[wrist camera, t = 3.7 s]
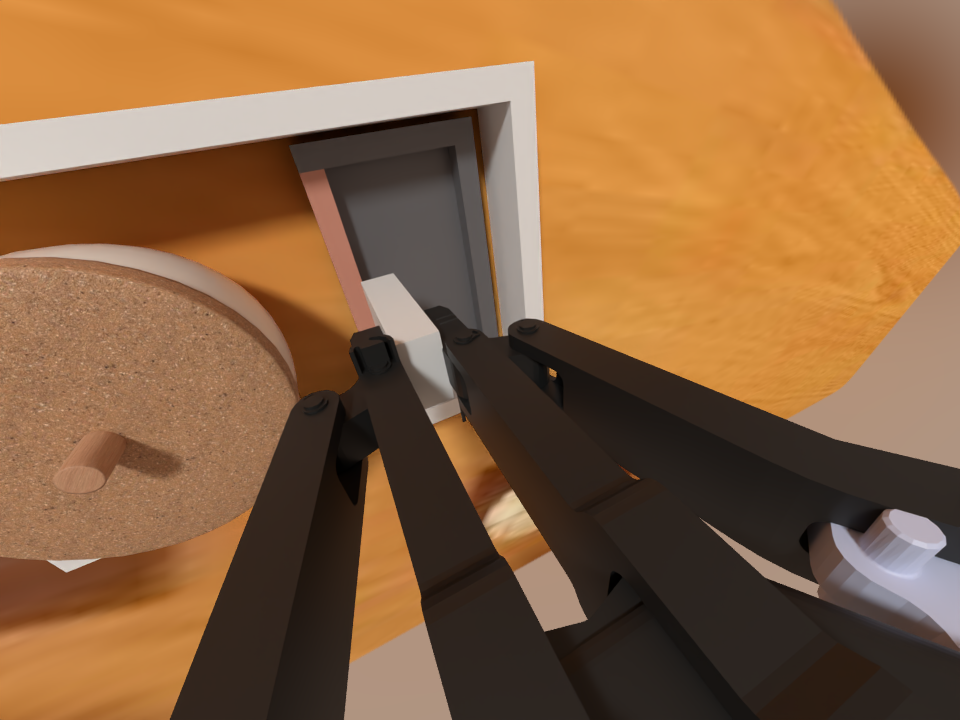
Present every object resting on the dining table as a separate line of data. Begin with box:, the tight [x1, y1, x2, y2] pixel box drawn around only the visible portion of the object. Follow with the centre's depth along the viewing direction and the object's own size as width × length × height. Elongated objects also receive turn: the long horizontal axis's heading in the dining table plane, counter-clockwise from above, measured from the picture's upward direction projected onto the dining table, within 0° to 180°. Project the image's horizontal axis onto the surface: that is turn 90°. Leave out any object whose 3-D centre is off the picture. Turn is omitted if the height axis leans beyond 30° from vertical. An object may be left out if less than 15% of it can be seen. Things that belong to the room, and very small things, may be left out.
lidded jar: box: [0, 244, 300, 561], centre depth 13 cm, size 11×11×9 cm
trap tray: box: [289, 117, 498, 338], centre depth 20 cm, size 8×13×2 cm, turn 9°
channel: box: [0, 61, 544, 572], centre depth 17 cm, size 26×16×4 cm, turn 99°
